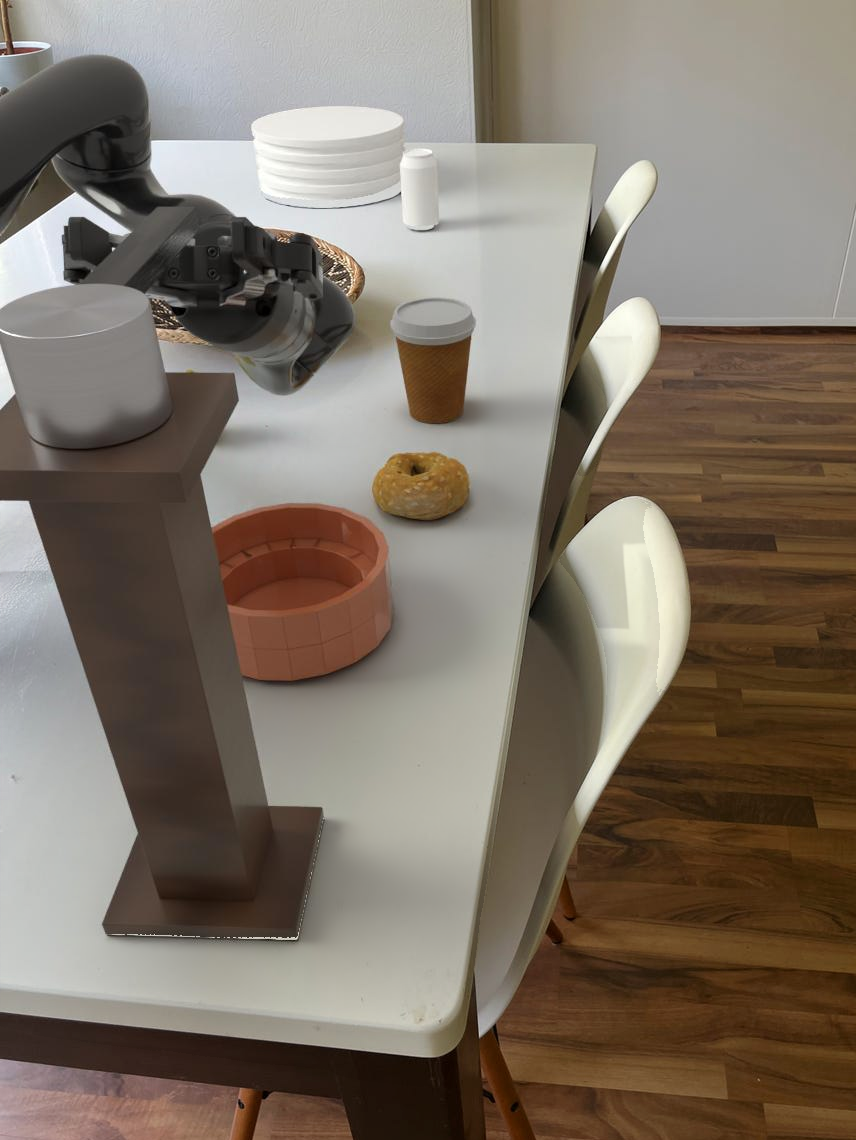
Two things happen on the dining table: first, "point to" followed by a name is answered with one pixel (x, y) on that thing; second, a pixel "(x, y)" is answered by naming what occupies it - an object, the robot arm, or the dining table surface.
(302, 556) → the bowl
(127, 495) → the stand
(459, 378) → the disposable coffee cup
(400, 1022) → the dining table surface
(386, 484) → the bagel
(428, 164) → the beverage can
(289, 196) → the plate stack
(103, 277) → the metal mallet
